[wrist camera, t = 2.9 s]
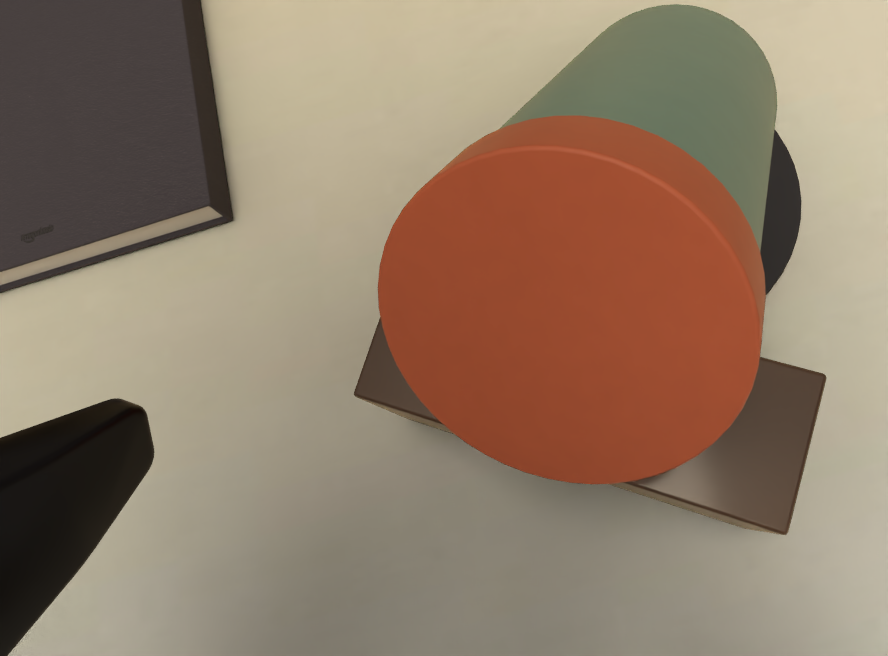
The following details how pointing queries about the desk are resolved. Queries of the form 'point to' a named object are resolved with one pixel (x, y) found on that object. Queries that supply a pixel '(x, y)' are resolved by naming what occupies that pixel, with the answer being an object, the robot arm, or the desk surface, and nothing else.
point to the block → (711, 472)
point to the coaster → (780, 214)
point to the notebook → (103, 132)
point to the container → (597, 258)
